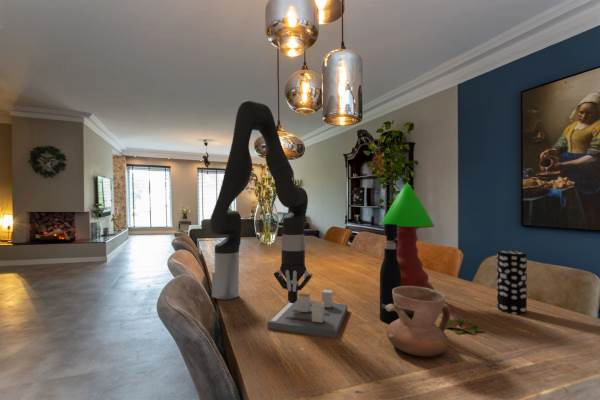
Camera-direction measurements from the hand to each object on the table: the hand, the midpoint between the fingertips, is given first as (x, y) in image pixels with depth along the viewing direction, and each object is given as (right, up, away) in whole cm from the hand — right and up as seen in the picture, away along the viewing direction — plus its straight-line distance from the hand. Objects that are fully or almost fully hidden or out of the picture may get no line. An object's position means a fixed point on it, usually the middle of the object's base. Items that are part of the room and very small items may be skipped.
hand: (292, 302), depth 96 cm
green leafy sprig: (+50, -6, -7) cm, 51 cm away
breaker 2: (+11, -2, +3) cm, 12 cm away
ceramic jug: (+32, -5, -20) cm, 38 cm away
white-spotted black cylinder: (+75, -6, +8) cm, 76 cm away
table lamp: (+44, -5, +20) cm, 48 cm away
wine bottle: (+31, -5, -2) cm, 31 cm away
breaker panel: (+6, -5, -2) cm, 7 cm away
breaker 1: (+8, -2, -9) cm, 12 cm away
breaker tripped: (+4, -2, -1) cm, 4 cm away
